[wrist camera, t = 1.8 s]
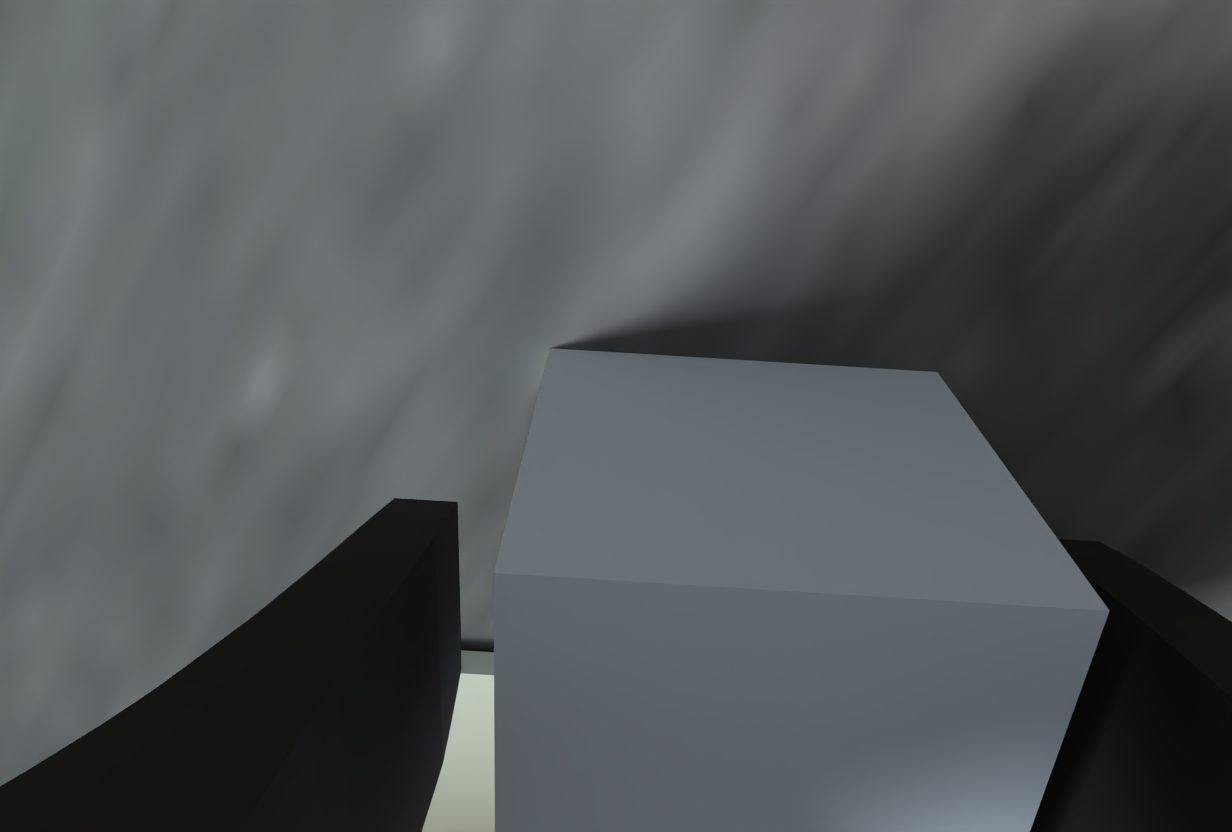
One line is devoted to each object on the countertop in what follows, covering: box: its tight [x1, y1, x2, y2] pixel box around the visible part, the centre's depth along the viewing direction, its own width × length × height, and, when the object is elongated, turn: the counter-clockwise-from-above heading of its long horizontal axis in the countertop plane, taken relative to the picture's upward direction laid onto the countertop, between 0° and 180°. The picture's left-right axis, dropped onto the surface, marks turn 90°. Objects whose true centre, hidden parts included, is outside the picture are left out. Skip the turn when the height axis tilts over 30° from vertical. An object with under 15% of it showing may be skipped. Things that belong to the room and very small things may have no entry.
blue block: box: [494, 348, 1109, 832], centre depth 9 cm, size 4×4×4 cm
